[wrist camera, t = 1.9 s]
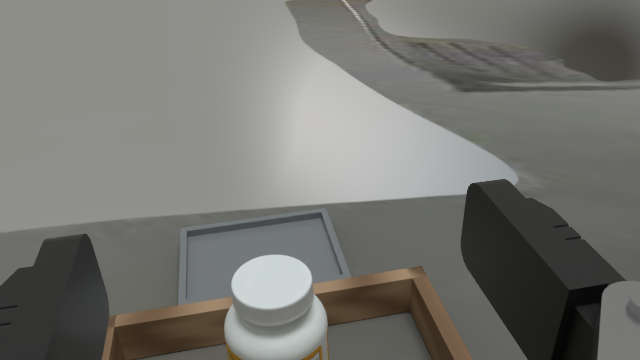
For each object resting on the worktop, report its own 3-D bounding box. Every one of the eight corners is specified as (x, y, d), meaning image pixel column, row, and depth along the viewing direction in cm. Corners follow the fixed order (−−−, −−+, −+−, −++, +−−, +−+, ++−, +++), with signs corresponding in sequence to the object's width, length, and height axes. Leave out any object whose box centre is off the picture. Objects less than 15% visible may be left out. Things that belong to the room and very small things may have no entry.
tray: (326, 223, 47) (325, 207, 46) (352, 294, 39) (351, 277, 38) (183, 244, 45) (180, 228, 44) (181, 323, 37) (177, 305, 37)
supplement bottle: (310, 463, 29) (301, 332, 24) (221, 432, 30) (194, 304, 25) (343, 381, 33) (340, 257, 28) (263, 358, 35) (247, 237, 30)
